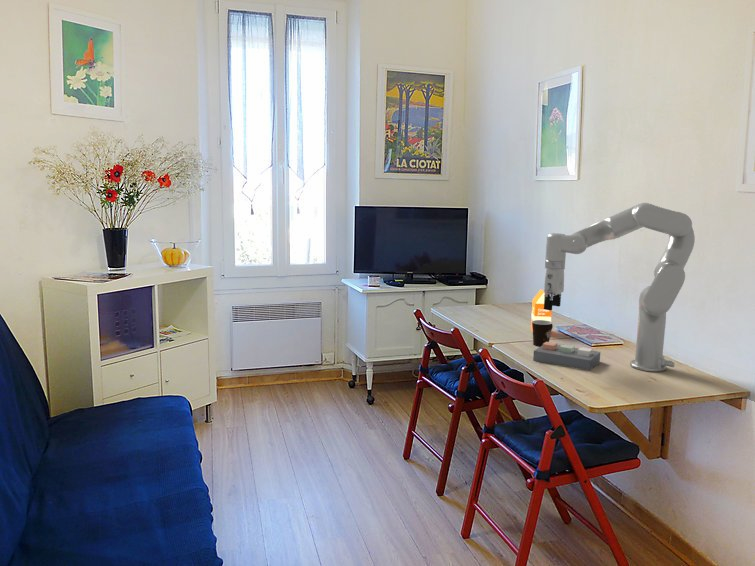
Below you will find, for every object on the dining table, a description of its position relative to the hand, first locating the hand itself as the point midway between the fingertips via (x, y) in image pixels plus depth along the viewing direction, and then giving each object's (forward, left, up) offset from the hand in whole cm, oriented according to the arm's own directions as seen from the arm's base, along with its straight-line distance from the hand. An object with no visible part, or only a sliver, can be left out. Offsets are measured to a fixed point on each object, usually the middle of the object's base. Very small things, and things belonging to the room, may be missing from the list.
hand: (552, 307), depth 243 cm
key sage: (-7, 0, -18) cm, 19 cm away
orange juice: (+18, -39, -21) cm, 48 cm away
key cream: (-14, 0, -18) cm, 23 cm away
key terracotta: (0, 0, -18) cm, 18 cm away
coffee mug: (+9, -19, -21) cm, 30 cm away
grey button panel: (-7, 0, -21) cm, 22 cm away
